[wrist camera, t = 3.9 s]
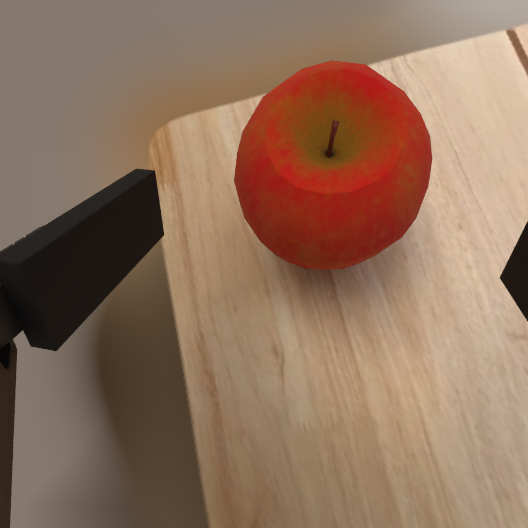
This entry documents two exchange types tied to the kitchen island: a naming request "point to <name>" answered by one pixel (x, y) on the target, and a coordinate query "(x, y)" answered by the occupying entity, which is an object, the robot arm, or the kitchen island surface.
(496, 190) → the kitchen island surface
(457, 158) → the kitchen island surface
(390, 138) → the apple
